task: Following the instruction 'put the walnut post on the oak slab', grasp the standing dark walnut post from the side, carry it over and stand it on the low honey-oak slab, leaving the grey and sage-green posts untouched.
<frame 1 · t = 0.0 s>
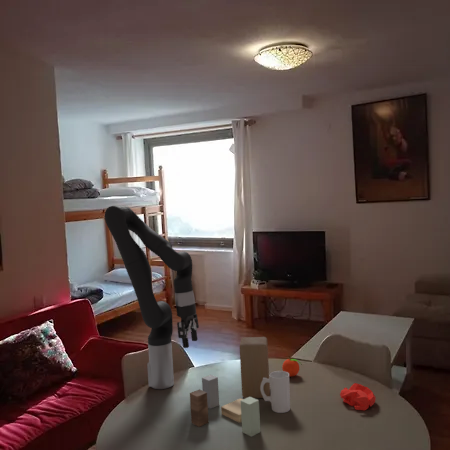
hand: (190, 344, 177), 17 cm above the table, tool pointing down, fingers open, 8 cm apart
animal figurine: (356, 402, 158), on the table
wooden block: (256, 393, 169), on the table
walnut post: (200, 422, 148), on the table
mug: (276, 409, 155), on the table
clementine: (292, 376, 183), on the table
grey post: (211, 405, 161), on the table
sage post: (251, 432, 140), on the table
oak slab: (240, 414, 153), on the table
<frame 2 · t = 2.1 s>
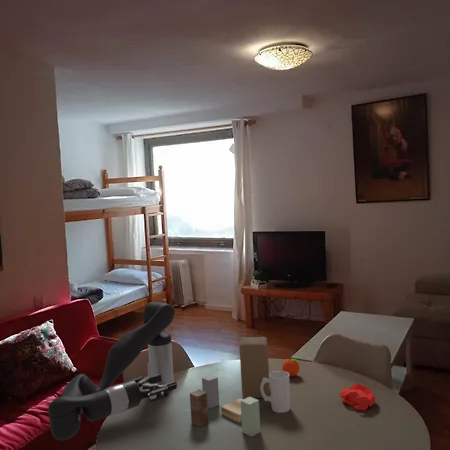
hand: (168, 381, 140), 17 cm above the table, tool horizontal, fingers open, 8 cm apart
nothing on the table moved.
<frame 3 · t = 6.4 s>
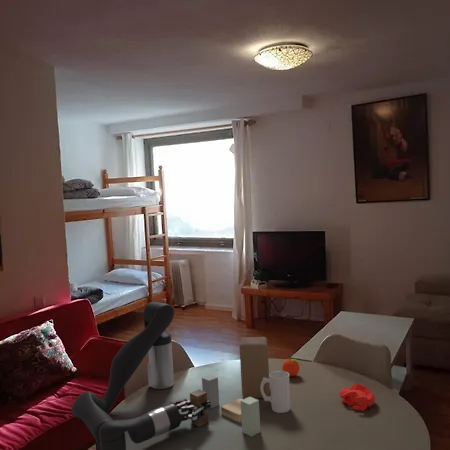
hand: (205, 402, 150), 6 cm above the table, tool horizontal, fingers closed on walnut post, 4 cm apart
walnut post: (200, 422, 148), on the table, touching gripper
everything else where it was.
when the fingers open (10 cm above the table, at t = 10.3 s): walnut post drops 2 cm, resting on oak slab.
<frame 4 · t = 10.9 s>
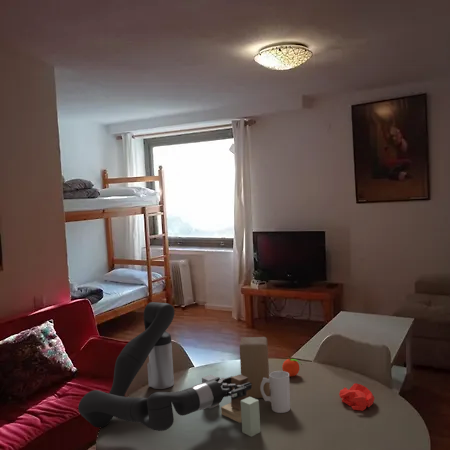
hand: (242, 382, 153), 10 cm above the table, tool horizontal, fingers open, 8 cm apart
walnut post: (239, 406, 152), point 3 cm above the table, touching oak slab
oak slab: (240, 415, 153), on the table, touching walnut post
everything else where it was.
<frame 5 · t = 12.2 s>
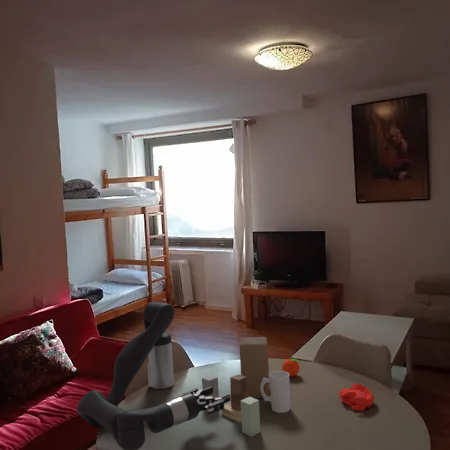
hand: (221, 393, 147), 10 cm above the table, tool horizontal, fingers open, 8 cm apart
nothing on the table moved.
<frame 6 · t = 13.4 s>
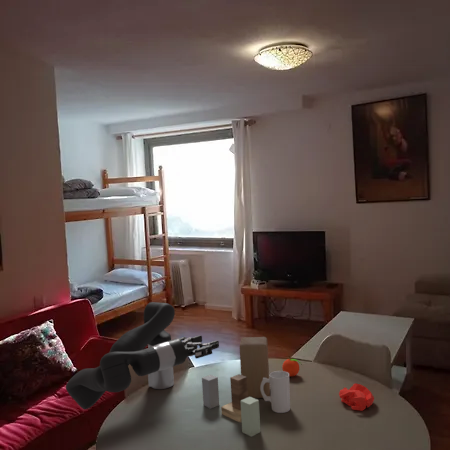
hand: (209, 341, 144), 28 cm above the table, tool horizontal, fingers open, 8 cm apart
nothing on the table moved.
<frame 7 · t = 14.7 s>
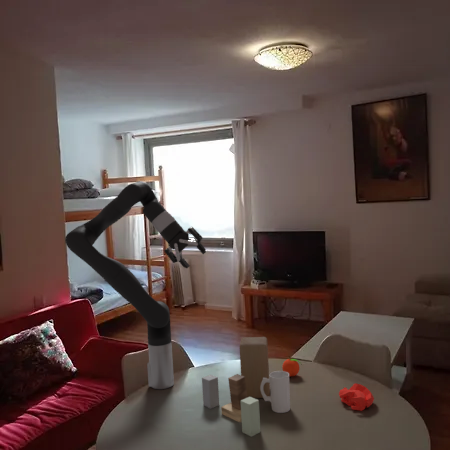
hand: (196, 260, 163), 51 cm above the table, tool tilted 40°, fingers open, 8 cm apart
nothing on the table moved.
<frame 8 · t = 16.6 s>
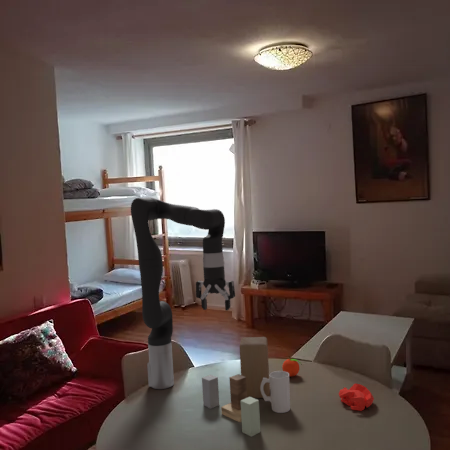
hand: (216, 309, 163), 33 cm above the table, tool pointing down, fingers open, 8 cm apart
walnut post: (239, 406, 153), point 2 cm above the table
oak slab: (240, 415, 153), on the table
everything else where it was.
at the end: walnut post inside the target area on the oak slab (0.1 cm from its centre), point 3.1 cm above the oak slab's base; walnut post tilted 2°; sage post moved 0.0 cm from its start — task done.
